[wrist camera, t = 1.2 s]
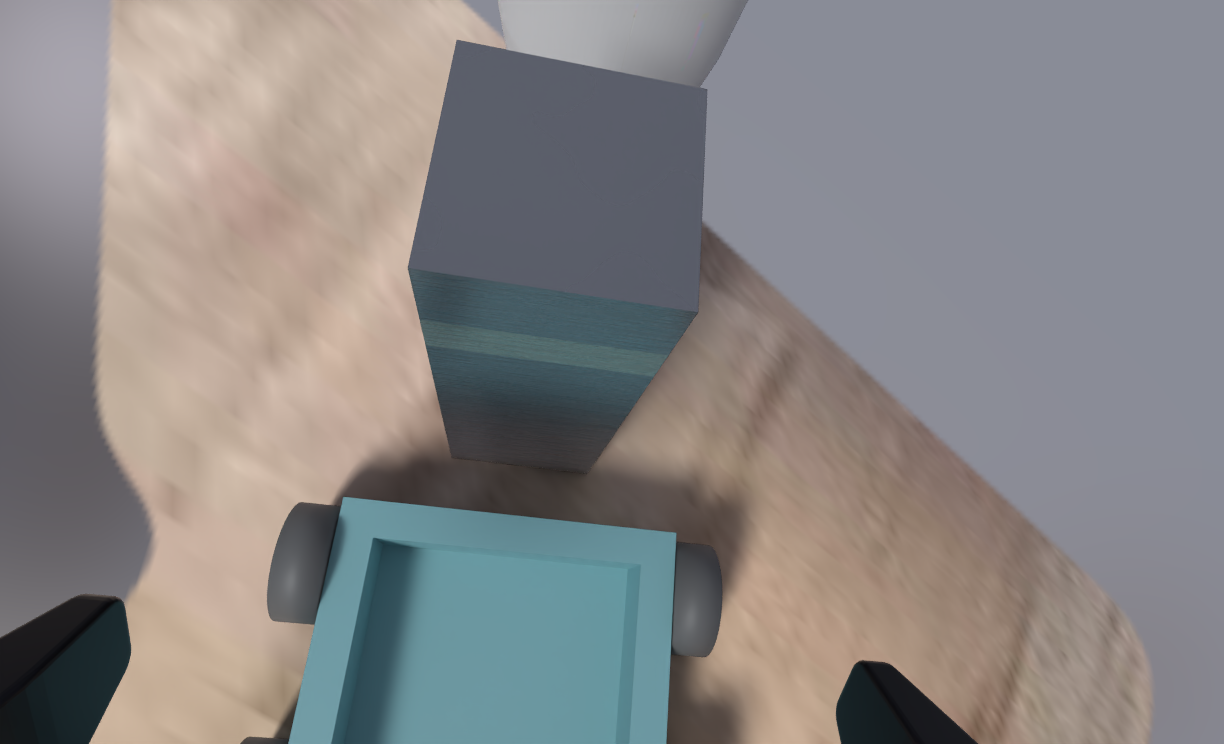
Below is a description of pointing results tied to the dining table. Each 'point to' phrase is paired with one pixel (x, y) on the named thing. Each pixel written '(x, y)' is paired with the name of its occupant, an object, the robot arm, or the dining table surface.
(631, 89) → the grey tall block
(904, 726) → the robot arm
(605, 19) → the cup
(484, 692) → the chassis
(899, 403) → the dining table surface
